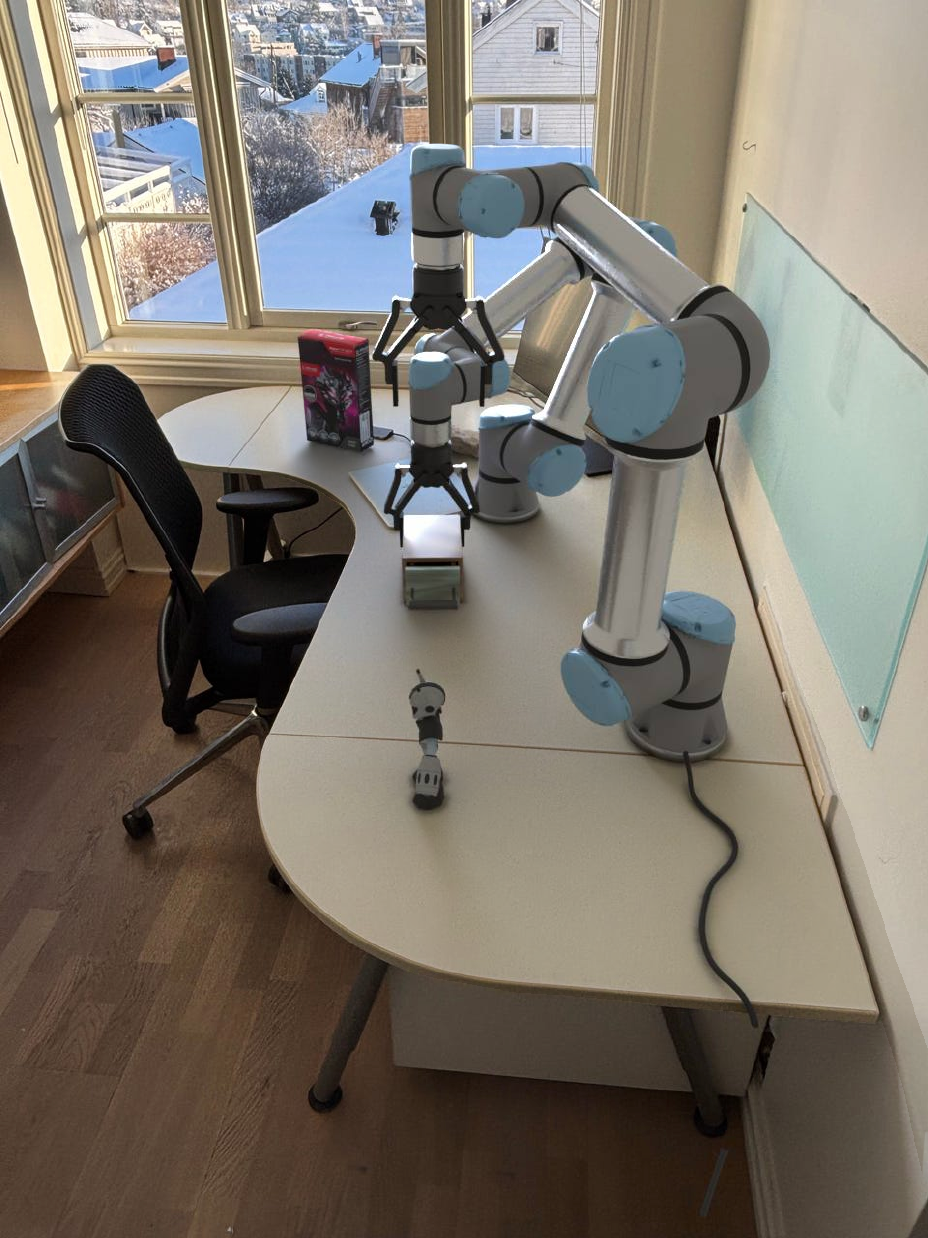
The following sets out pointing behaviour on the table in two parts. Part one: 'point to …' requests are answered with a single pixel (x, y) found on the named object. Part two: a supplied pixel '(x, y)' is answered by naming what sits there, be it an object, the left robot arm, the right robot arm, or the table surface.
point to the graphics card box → (336, 389)
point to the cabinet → (432, 542)
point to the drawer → (432, 585)
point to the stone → (465, 441)
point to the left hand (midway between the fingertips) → (432, 543)
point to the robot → (428, 742)
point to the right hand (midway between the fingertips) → (438, 403)
